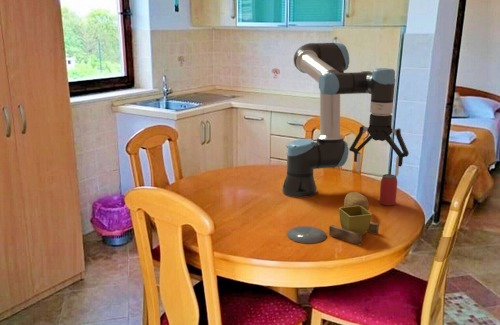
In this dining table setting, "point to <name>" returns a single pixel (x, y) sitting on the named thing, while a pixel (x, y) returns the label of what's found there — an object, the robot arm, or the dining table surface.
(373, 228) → the wooden blocks
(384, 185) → the beer can
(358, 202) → the potato
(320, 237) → the grey round disc
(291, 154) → the robot arm
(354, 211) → the flower pot
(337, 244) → the dining table surface
